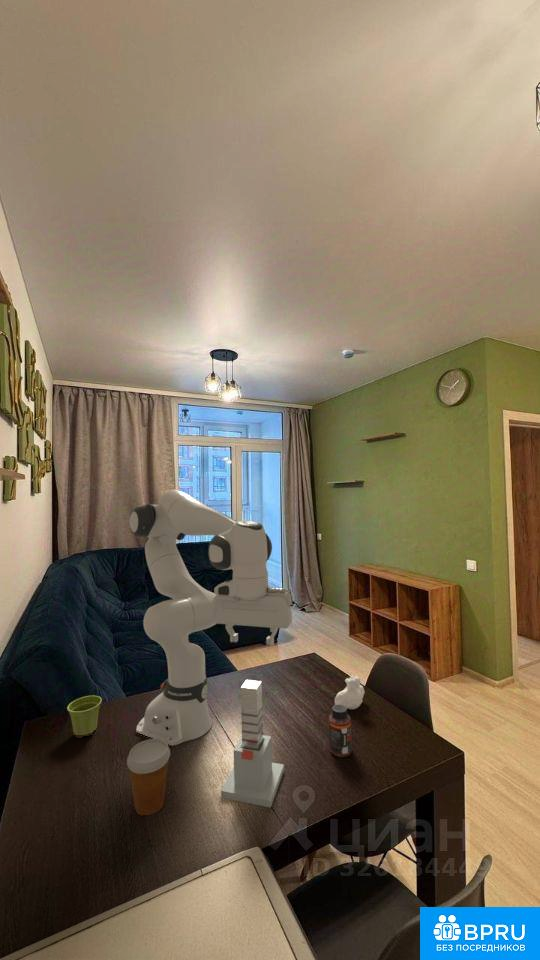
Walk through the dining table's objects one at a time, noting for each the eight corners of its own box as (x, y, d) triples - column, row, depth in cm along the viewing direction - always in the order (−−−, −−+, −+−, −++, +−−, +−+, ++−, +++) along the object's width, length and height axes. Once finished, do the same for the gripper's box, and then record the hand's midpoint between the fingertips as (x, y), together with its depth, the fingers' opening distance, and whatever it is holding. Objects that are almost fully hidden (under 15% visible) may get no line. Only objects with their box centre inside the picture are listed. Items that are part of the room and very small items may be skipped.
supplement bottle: (352, 759, 101) (350, 715, 102) (329, 757, 102) (327, 713, 103) (352, 745, 107) (350, 703, 107) (330, 743, 108) (328, 701, 109)
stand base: (221, 797, 90) (220, 752, 90) (239, 762, 101) (238, 723, 102) (270, 807, 86) (269, 761, 87) (284, 770, 98) (282, 730, 98)
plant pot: (60, 738, 114) (59, 708, 114) (86, 721, 122) (85, 693, 123) (83, 745, 110) (83, 714, 110) (109, 727, 119) (108, 698, 119)
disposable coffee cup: (147, 829, 82) (146, 770, 82) (118, 810, 87) (117, 755, 87) (179, 798, 90) (179, 745, 90) (151, 783, 95) (151, 733, 95)
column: (242, 755, 93) (240, 687, 93) (248, 745, 97) (246, 679, 97) (258, 758, 91) (256, 689, 92) (263, 747, 95) (261, 681, 96)
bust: (338, 719, 123) (352, 700, 118) (325, 696, 128) (338, 677, 123) (365, 707, 129) (380, 688, 124) (351, 686, 135) (365, 667, 129)
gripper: (294, 585, 96) (295, 641, 96) (218, 582, 102) (219, 635, 102) (287, 591, 90) (289, 652, 90) (208, 588, 96) (209, 644, 96)
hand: (251, 643), depth 96 cm, fingers open, 8 cm apart
